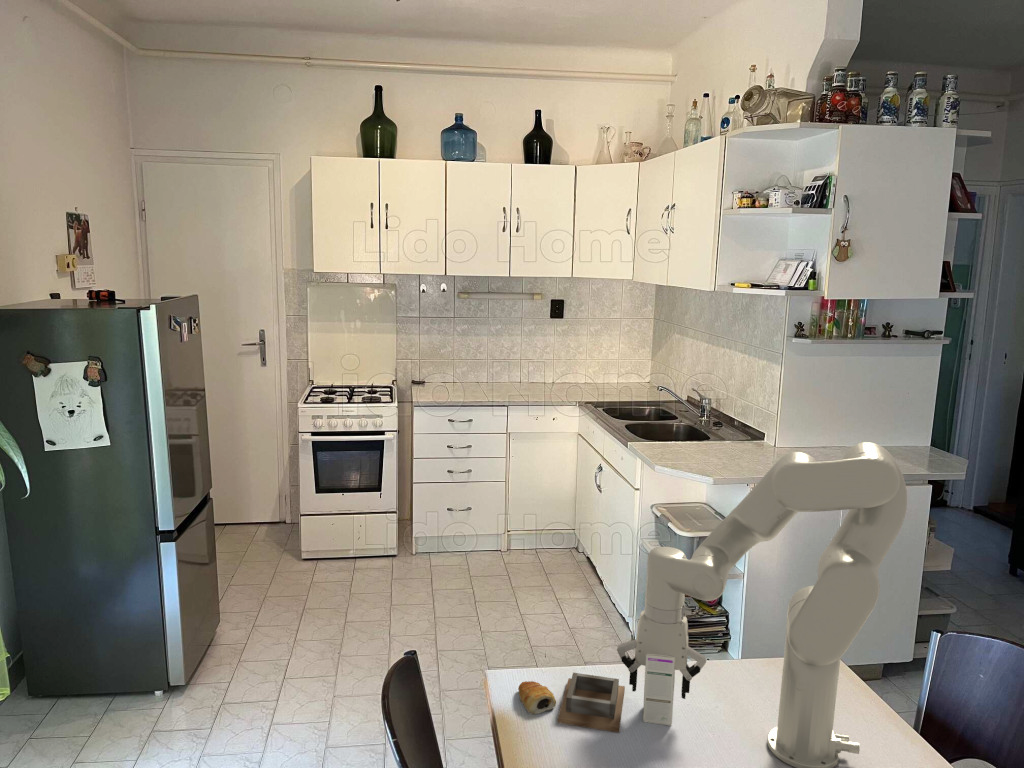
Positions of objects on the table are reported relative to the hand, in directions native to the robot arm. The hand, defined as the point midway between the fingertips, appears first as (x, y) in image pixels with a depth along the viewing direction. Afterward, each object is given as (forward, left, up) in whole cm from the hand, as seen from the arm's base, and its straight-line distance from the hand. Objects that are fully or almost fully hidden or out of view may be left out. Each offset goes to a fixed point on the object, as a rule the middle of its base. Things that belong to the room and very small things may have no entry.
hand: (658, 691), depth 150 cm
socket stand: (+13, 0, -5) cm, 14 cm away
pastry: (+25, +2, -6) cm, 25 cm away
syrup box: (0, 0, -6) cm, 6 cm away
